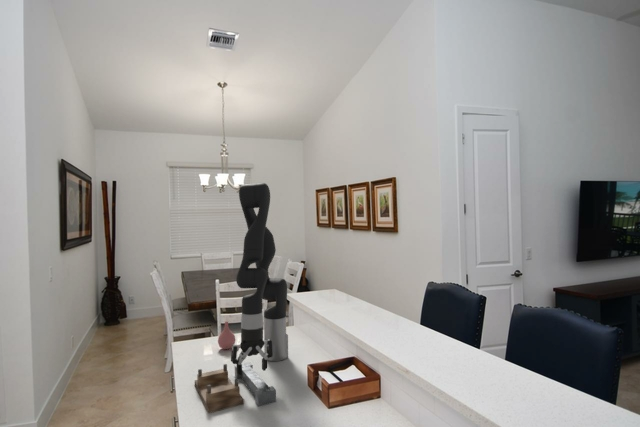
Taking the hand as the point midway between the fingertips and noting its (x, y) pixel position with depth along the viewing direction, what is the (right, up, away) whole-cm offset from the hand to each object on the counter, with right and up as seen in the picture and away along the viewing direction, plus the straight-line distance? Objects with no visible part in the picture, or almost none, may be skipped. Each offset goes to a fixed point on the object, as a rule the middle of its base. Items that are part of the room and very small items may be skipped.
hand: (252, 372), depth 131 cm
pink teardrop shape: (-18, -6, +39) cm, 44 cm away
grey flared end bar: (+1, -6, 0) cm, 6 cm away
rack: (-11, -6, -4) cm, 13 cm away
